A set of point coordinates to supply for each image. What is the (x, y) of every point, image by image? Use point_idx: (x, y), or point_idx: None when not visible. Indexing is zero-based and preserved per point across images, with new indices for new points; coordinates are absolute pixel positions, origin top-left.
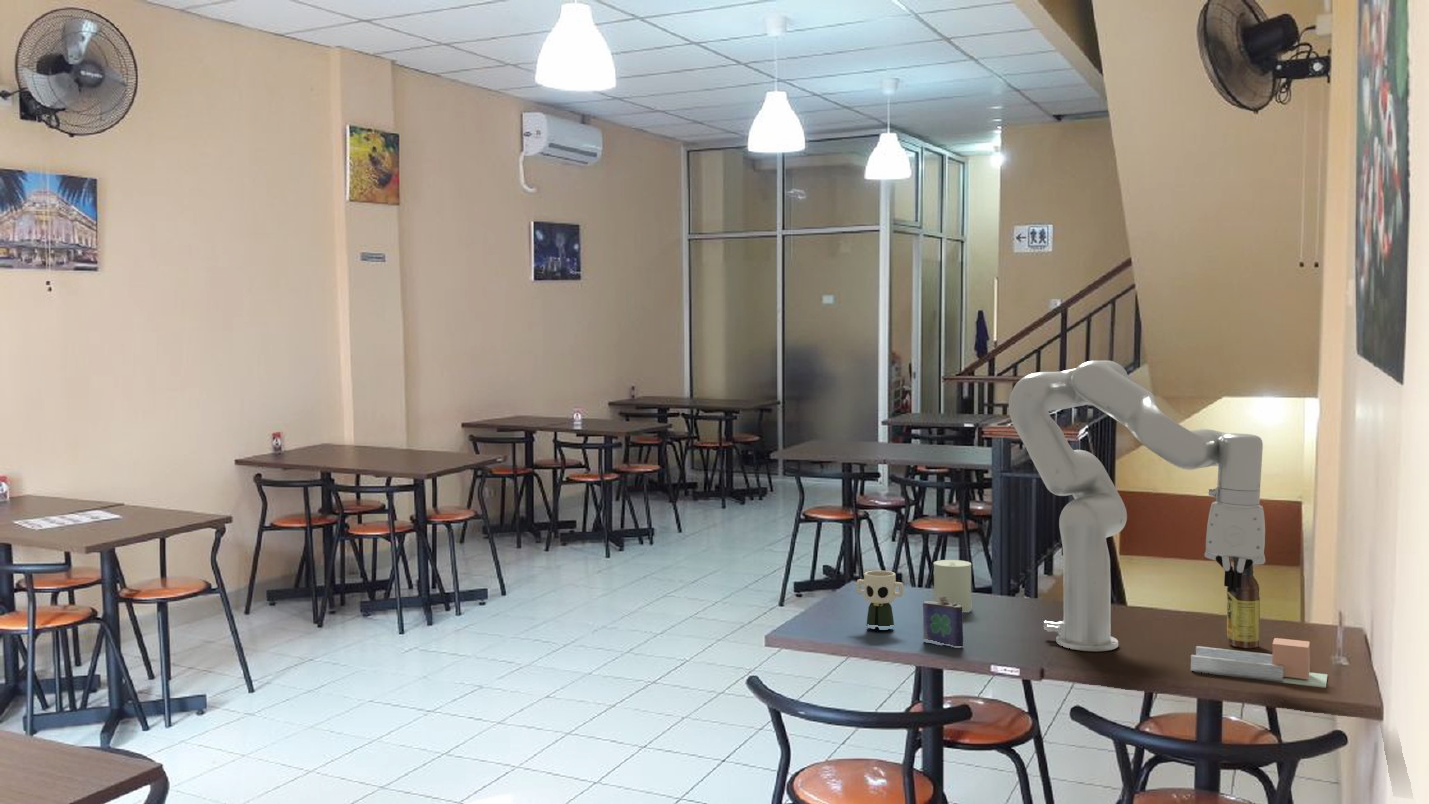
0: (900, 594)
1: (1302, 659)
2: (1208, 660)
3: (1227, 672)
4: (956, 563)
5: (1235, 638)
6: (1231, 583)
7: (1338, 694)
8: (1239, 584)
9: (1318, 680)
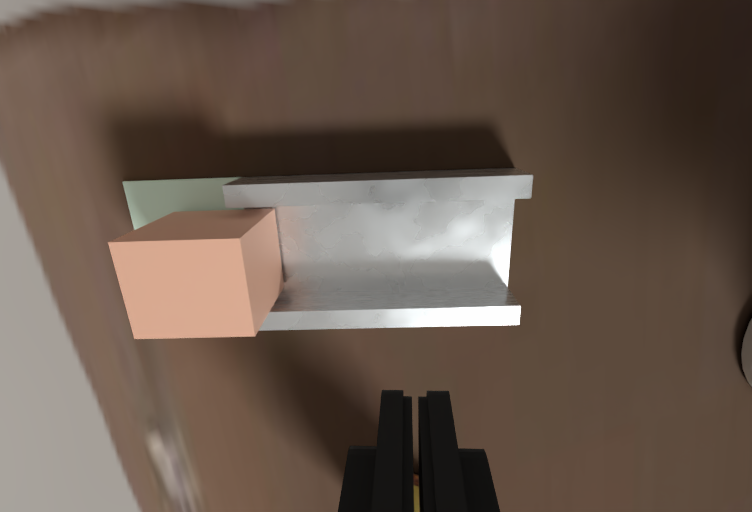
0: None
1: (157, 227)
2: (468, 175)
3: (402, 172)
4: None
5: (418, 490)
6: (424, 444)
7: (76, 123)
8: (359, 463)
9: None
